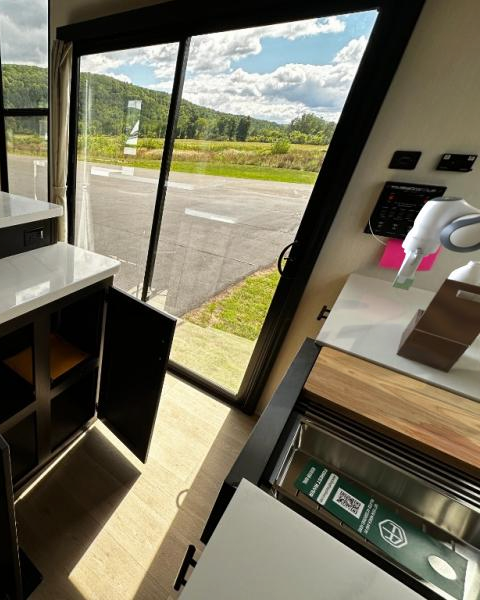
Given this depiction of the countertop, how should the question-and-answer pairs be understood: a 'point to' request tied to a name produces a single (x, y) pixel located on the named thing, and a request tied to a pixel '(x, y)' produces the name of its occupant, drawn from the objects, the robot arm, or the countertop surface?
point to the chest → (429, 347)
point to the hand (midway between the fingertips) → (401, 279)
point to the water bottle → (467, 273)
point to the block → (404, 285)
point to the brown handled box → (453, 312)
